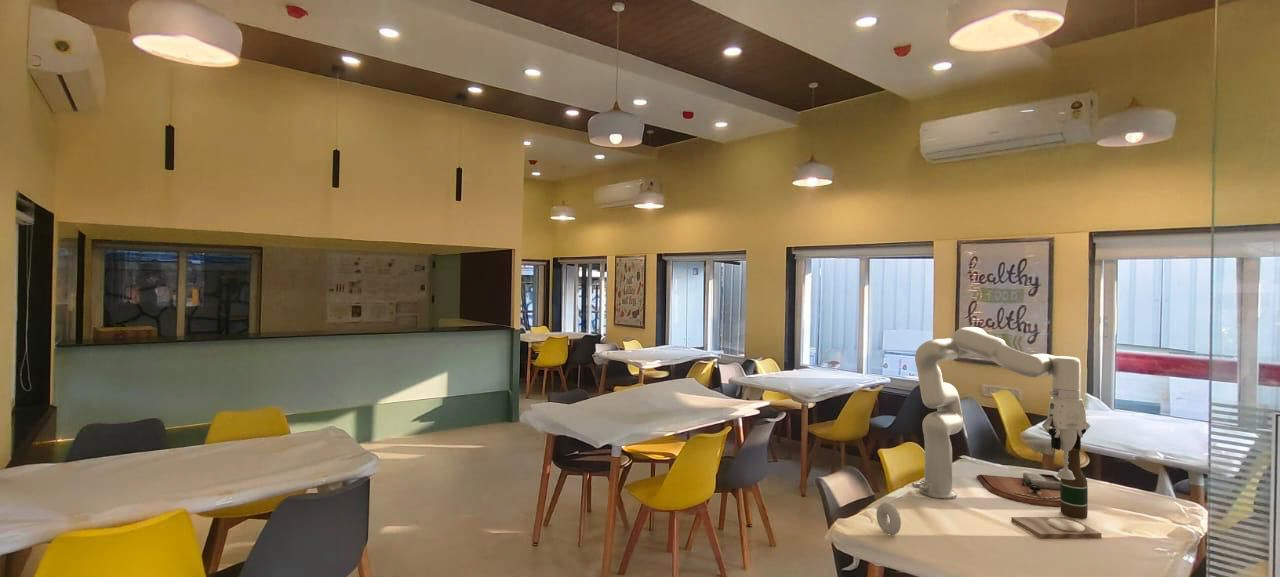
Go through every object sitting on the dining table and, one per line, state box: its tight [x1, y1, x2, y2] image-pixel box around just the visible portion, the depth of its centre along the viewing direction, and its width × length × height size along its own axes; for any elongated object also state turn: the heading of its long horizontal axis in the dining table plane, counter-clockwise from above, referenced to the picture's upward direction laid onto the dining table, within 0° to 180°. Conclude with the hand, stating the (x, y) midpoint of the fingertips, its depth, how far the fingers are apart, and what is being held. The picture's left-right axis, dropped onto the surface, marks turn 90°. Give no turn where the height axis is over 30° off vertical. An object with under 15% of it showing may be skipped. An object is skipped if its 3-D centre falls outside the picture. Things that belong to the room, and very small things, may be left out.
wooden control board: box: [976, 472, 1061, 508], centre depth 231 cm, size 31×5×30 cm
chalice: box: [1055, 425, 1078, 480], centre depth 194 cm, size 7×7×18 cm
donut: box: [876, 501, 902, 536], centre depth 191 cm, size 10×4×10 cm, turn 14°
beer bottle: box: [1059, 448, 1089, 520], centre depth 208 cm, size 8×8×24 cm
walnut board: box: [1010, 516, 1102, 540], centre depth 195 cm, size 20×14×2 cm
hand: (1065, 448), depth 194 cm, fingers closed on chalice, 6 cm apart
